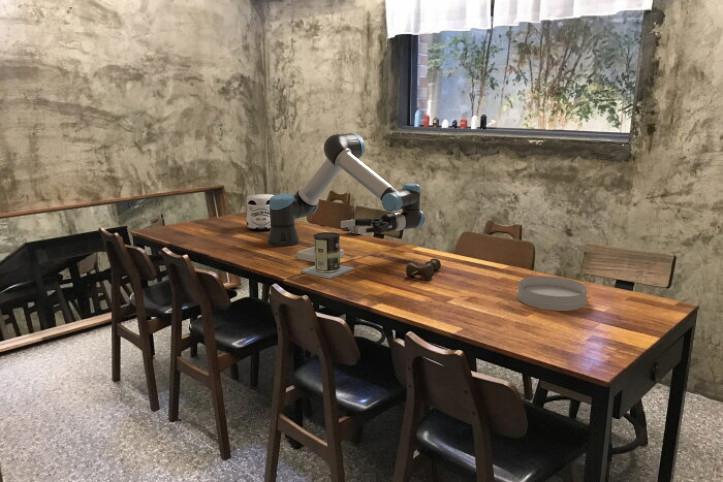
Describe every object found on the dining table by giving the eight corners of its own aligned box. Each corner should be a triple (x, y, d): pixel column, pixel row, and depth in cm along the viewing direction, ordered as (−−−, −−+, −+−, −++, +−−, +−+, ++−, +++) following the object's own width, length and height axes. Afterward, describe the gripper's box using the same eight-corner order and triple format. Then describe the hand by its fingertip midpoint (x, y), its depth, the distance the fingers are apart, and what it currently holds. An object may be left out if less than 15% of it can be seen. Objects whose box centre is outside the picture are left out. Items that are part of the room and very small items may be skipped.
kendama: (446, 272, 217) (422, 284, 201) (425, 269, 223) (400, 280, 206) (446, 258, 216) (422, 268, 200) (425, 255, 221) (400, 265, 205)
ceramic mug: (354, 235, 280) (354, 221, 278) (347, 232, 287) (347, 218, 285) (372, 234, 284) (372, 219, 283) (365, 231, 292) (365, 217, 290)
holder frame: (297, 258, 237) (296, 251, 237) (319, 251, 249) (319, 245, 248) (322, 263, 229) (322, 257, 228) (344, 256, 240) (344, 249, 239)
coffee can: (341, 265, 223) (340, 231, 220) (339, 272, 213) (338, 237, 210) (316, 265, 223) (315, 231, 220) (313, 272, 213) (312, 237, 210)
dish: (532, 285, 199) (533, 272, 198) (595, 298, 186) (596, 284, 185) (506, 301, 183) (506, 287, 182) (572, 316, 169) (574, 301, 168)
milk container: (257, 233, 287) (255, 199, 283) (240, 228, 299) (238, 196, 295) (285, 228, 298) (283, 196, 294) (267, 224, 311) (266, 192, 306)
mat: (300, 272, 217) (300, 270, 217) (325, 263, 229) (325, 262, 229) (329, 278, 208) (329, 276, 208) (353, 269, 220) (353, 267, 220)
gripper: (409, 236, 223) (366, 243, 212) (376, 225, 244) (334, 230, 233) (410, 218, 221) (366, 224, 210) (376, 208, 242) (334, 213, 231)
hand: (349, 227), depth 221 cm, fingers open, 13 cm apart
